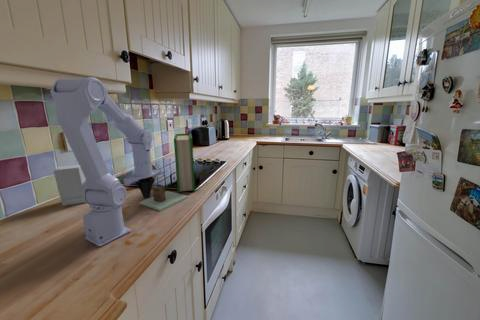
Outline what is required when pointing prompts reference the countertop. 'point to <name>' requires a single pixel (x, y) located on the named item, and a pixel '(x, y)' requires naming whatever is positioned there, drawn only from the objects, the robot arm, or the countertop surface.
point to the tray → (170, 200)
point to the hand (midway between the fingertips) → (146, 197)
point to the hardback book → (184, 162)
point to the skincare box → (70, 184)
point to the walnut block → (159, 193)
